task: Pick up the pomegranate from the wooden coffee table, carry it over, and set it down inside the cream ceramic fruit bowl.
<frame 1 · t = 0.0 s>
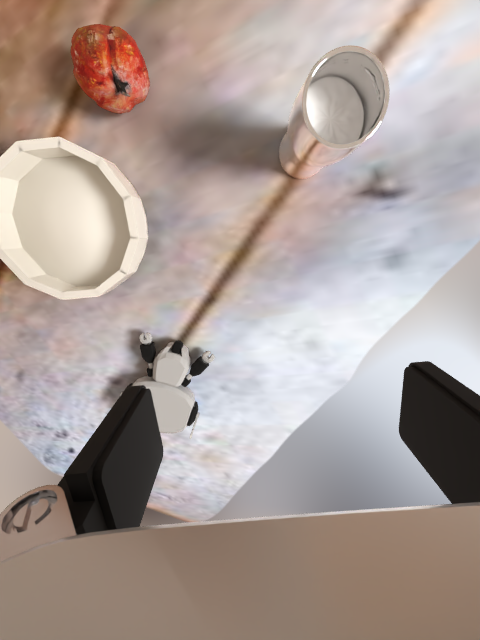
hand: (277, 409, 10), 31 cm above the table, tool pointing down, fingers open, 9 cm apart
robot toy: (170, 377, 45), on the table
fruit bowl: (81, 225, 38), on the table
beer glass: (302, 152, 36), on the table
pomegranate: (123, 85, 34), on the table
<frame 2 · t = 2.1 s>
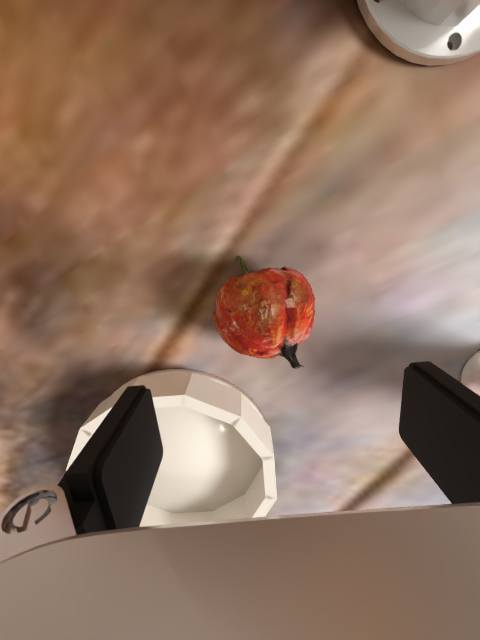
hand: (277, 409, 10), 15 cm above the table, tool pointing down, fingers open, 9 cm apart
fruit bowl: (183, 446, 29), on the table
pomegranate: (260, 297, 24), on the table
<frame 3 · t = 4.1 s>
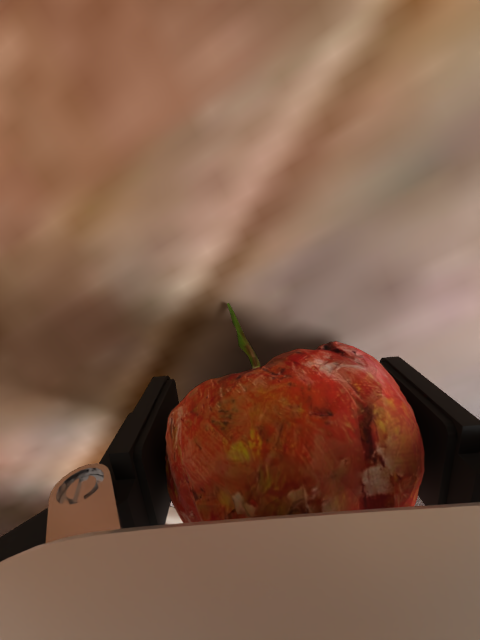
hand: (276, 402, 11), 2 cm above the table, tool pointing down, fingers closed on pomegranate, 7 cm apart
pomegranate: (270, 379, 12), on the table, touching gripper
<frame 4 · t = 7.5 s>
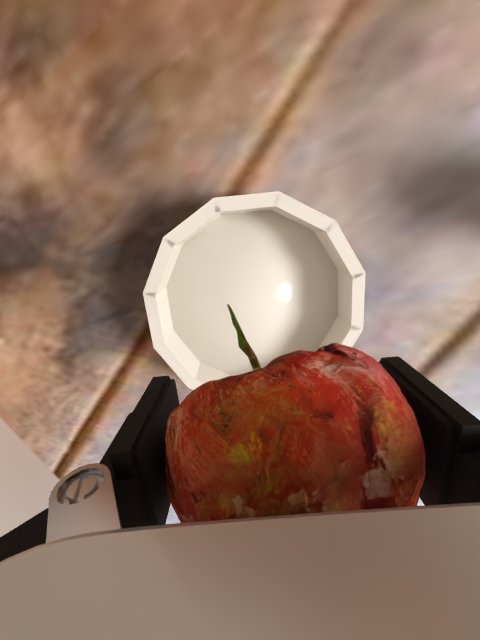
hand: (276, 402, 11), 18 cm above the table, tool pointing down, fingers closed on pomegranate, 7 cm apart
fruit bowl: (252, 299, 28), on the table
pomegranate: (270, 380, 12), point 16 cm above the table, touching gripper
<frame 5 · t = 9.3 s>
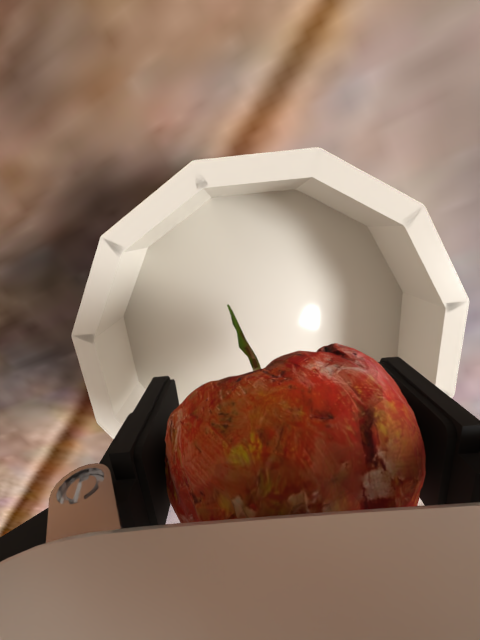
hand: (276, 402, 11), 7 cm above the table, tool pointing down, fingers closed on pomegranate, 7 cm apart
fruit bowl: (262, 333, 18), on the table
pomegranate: (270, 380, 12), point 6 cm above the table, touching gripper
when the fingers open (4 cm above the table, at t = 11.0 s): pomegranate drops 2 cm, resting on fruit bowl.
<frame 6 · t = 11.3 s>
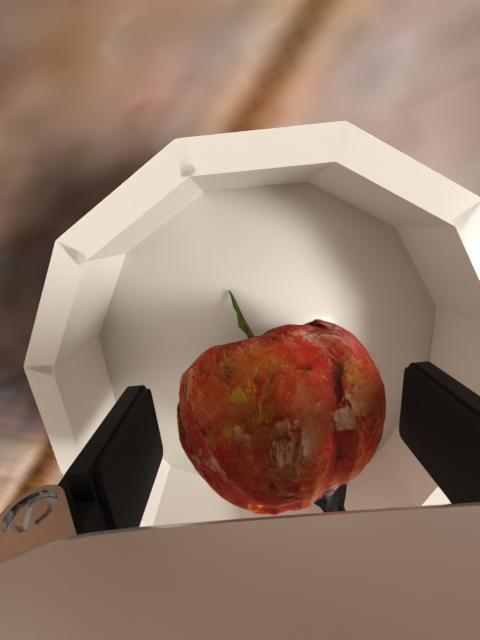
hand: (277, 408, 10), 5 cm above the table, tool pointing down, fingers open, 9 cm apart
fruit bowl: (265, 354, 15), on the table
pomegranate: (266, 358, 14), point 1 cm above the table, touching fruit bowl
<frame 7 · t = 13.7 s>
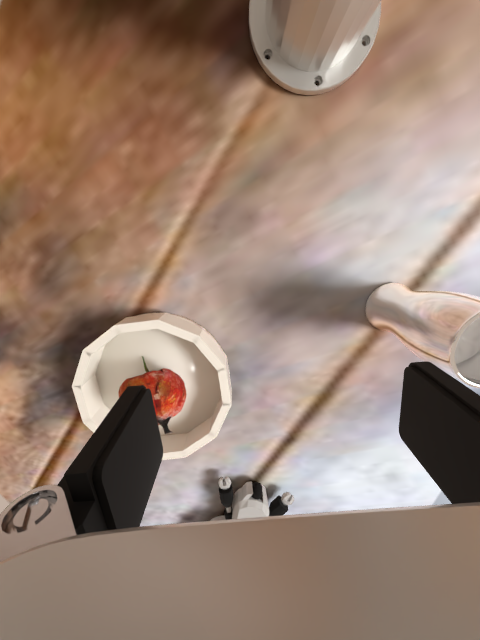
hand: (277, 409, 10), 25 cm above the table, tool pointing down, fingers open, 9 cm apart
robot toy: (242, 510, 44), on the table
fruit bowl: (162, 378, 37), on the table
beer glass: (388, 306, 36), on the table
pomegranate: (160, 380, 37), point 1 cm above the table, touching fruit bowl
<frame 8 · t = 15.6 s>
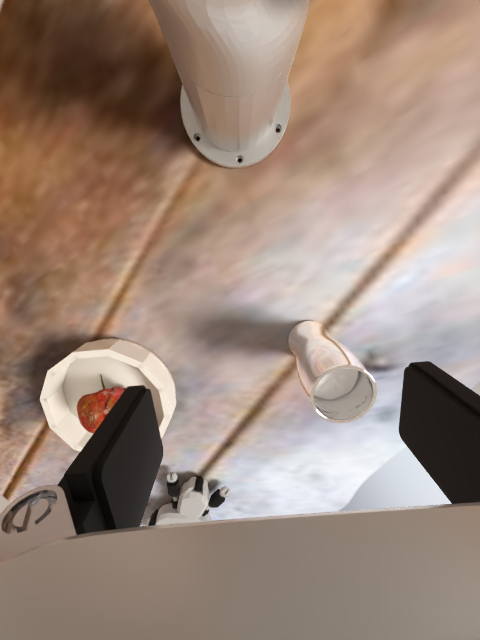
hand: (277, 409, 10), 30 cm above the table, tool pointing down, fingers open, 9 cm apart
robot toy: (189, 499, 52), on the table
fruit bowl: (119, 391, 45), on the table
beer glass: (307, 339, 42), on the table
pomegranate: (116, 393, 44), point 1 cm above the table, touching fruit bowl
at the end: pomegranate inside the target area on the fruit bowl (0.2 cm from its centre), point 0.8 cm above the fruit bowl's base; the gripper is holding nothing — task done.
